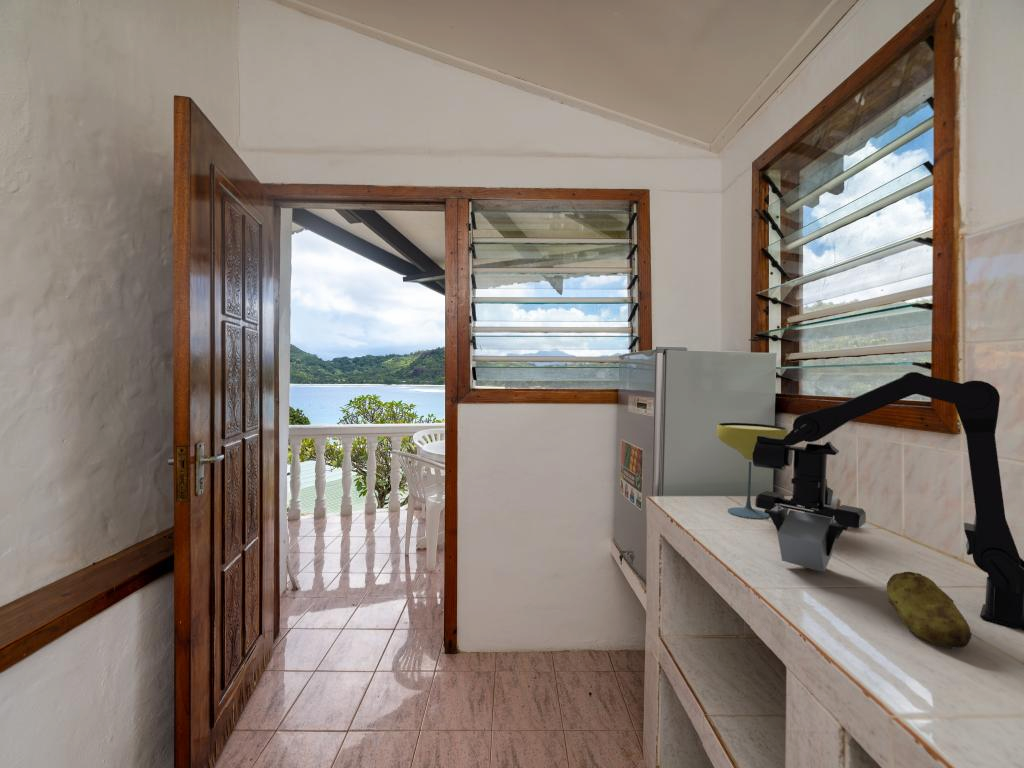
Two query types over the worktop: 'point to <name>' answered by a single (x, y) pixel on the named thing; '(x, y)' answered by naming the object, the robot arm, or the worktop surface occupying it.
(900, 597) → the potato
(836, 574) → the worktop surface
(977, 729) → the worktop surface
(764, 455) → the robot arm
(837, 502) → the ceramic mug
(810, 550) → the plain gray cube
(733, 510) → the cocktail glass
